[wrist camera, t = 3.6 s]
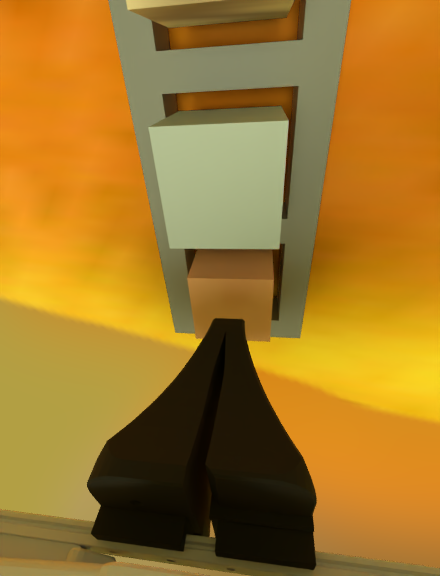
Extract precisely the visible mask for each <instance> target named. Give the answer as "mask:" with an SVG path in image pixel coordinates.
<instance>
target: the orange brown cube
mask: <svg viewBox="0 0 440 576" xmlns="http://www.w3.org/2000/svg"><path fill="white" fill-rule="evenodd" d="M187 280H188V287H189V294H190V301H191V308H192V314H193V321H194V328H195V335H196V338H204V336H205V335H206V333H207V331H208V329H209V327H210V325H211V323H212V321H213V319H215V318H228V319H243V320H244V321H245V334H246V340H247V341H269V342H270V333H271V318H272V302H273V287H274V272H273V254H272V249H197V252H196V255H195V257H194V260H193V263H192V266H191V269H190V272H189V274H188V277H187Z"/></svg>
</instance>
